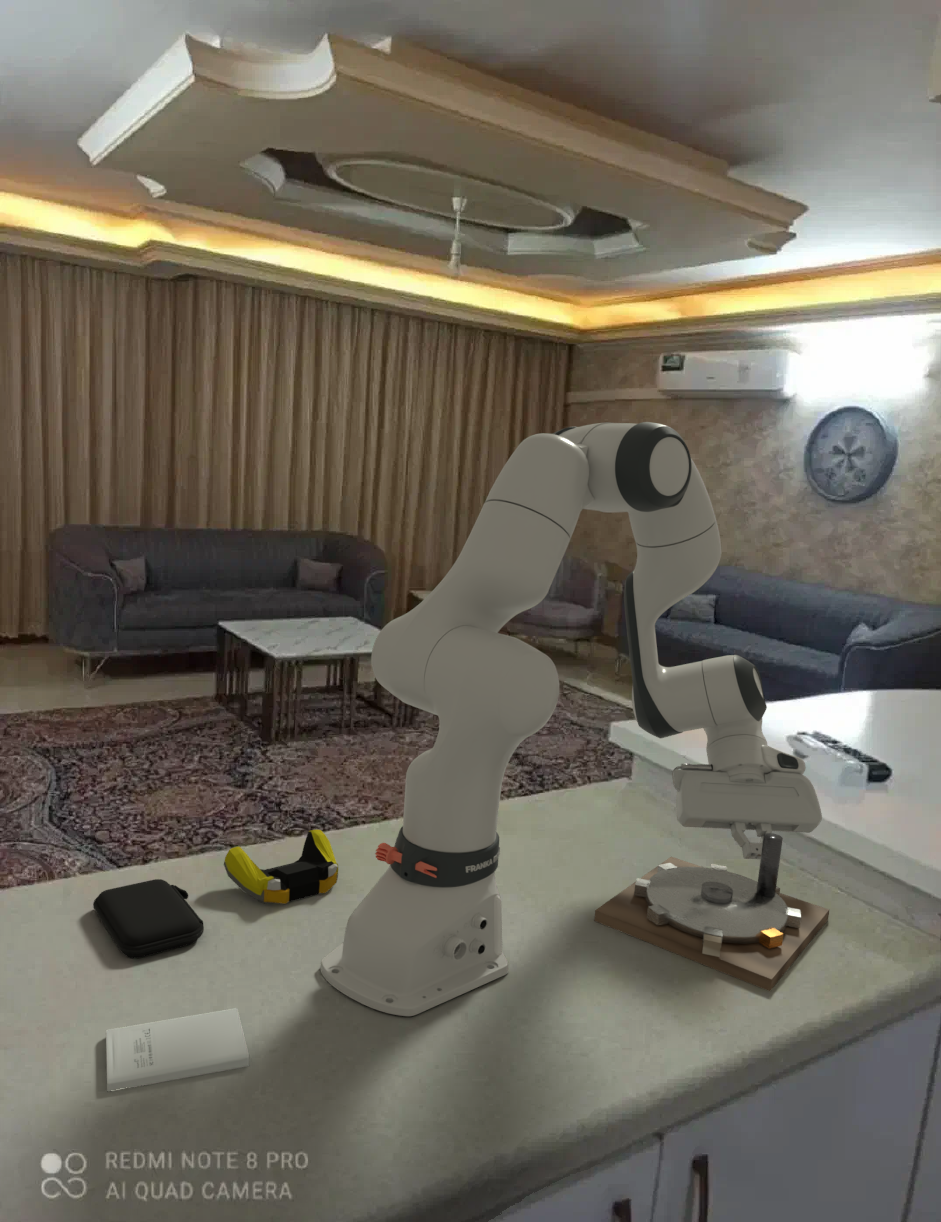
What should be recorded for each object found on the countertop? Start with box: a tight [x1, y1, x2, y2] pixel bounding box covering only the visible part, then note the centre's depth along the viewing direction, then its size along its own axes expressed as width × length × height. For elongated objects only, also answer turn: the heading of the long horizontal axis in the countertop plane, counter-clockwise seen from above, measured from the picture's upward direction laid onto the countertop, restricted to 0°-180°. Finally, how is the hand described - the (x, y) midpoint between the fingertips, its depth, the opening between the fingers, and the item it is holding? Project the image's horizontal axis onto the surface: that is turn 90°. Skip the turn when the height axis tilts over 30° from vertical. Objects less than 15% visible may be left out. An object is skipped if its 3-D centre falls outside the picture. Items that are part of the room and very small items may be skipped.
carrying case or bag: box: [92, 878, 205, 959], centre depth 109 cm, size 11×3×15 cm
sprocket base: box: [593, 856, 830, 992], centre depth 120 cm, size 23×23×3 cm
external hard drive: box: [105, 1007, 250, 1092], centre depth 87 cm, size 2×8×12 cm
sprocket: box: [634, 832, 801, 949], centre depth 119 cm, size 20×20×10 cm
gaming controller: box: [223, 829, 339, 905], centre depth 121 cm, size 15×6×10 cm
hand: (755, 857), depth 126 cm, fingers closed
